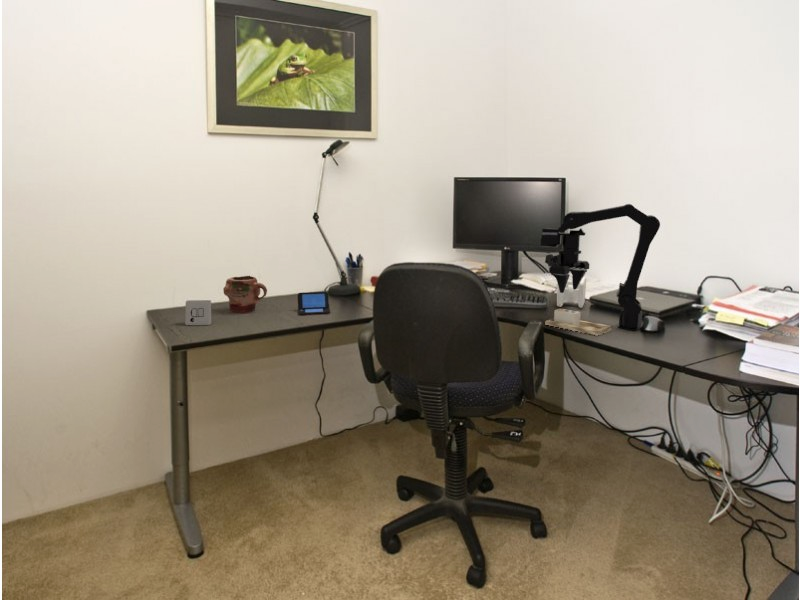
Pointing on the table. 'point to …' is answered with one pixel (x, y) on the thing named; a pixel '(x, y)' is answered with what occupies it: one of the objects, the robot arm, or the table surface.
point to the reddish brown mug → (243, 293)
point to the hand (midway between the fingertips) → (568, 290)
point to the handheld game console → (313, 303)
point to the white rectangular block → (567, 317)
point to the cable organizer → (572, 293)
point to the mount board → (582, 327)
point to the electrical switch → (198, 312)
